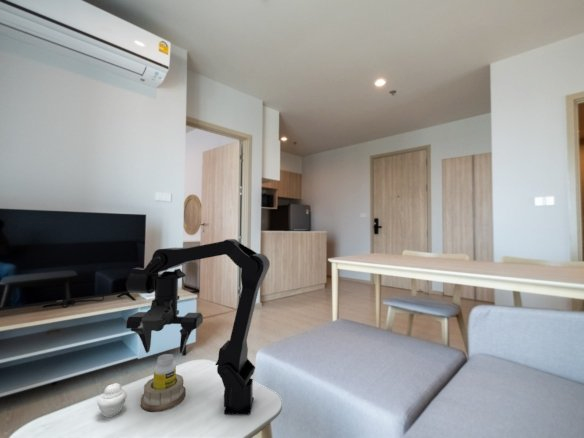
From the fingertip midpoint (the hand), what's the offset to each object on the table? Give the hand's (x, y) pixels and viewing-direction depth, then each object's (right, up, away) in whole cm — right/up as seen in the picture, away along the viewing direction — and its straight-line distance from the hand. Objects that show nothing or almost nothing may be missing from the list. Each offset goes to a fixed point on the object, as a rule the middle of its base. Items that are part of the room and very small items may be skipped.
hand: (164, 352), depth 75 cm
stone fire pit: (0, -12, -1) cm, 12 cm away
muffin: (-10, -12, -6) cm, 17 cm away
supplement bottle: (0, -11, -1) cm, 11 cm away
